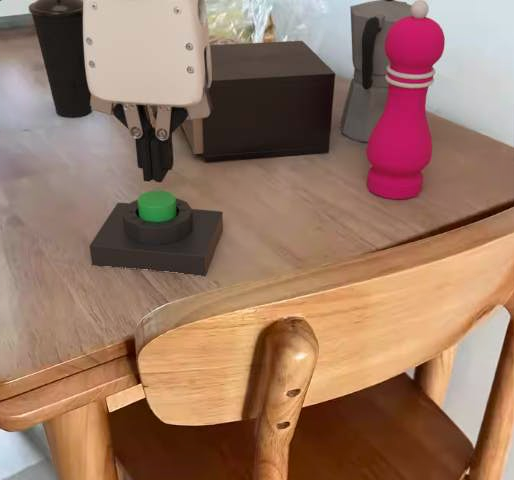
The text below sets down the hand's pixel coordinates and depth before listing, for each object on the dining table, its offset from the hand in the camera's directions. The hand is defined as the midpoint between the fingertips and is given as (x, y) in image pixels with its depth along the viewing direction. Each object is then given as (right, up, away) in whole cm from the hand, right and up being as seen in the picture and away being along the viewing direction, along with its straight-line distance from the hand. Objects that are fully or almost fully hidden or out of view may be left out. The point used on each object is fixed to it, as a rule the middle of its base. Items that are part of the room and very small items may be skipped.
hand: (156, 175), depth 68 cm
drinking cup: (-16, +17, +34) cm, 41 cm away
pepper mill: (+25, +2, +17) cm, 30 cm away
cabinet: (+9, +12, +28) cm, 31 cm away
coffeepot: (+24, +12, +29) cm, 40 cm away
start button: (0, -3, +3) cm, 4 cm away
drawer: (+5, +12, +26) cm, 29 cm away
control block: (0, -6, +5) cm, 8 cm away
